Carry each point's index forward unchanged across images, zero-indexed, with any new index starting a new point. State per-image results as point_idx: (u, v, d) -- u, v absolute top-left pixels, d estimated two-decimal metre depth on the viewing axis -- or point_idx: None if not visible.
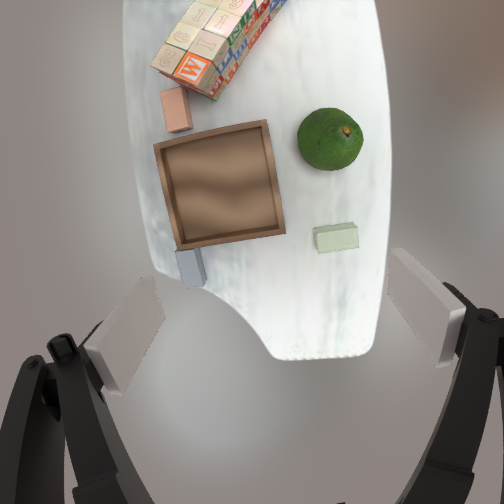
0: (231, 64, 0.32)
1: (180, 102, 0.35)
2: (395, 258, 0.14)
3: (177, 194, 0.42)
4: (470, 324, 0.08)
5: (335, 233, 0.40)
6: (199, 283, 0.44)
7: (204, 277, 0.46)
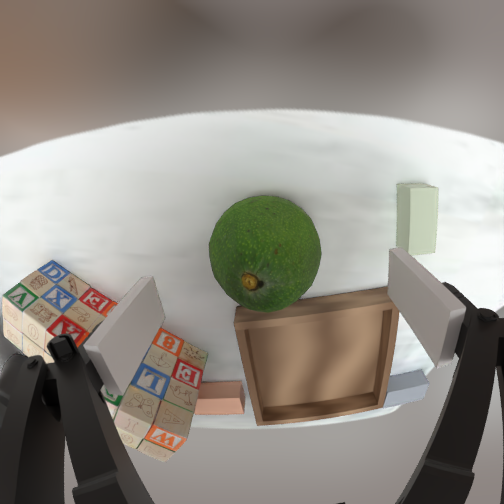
0: (155, 356, 0.26)
1: (209, 400, 0.30)
2: (395, 258, 0.14)
3: (319, 399, 0.32)
4: (470, 324, 0.08)
5: (414, 225, 0.23)
6: (424, 386, 0.29)
7: (420, 375, 0.31)
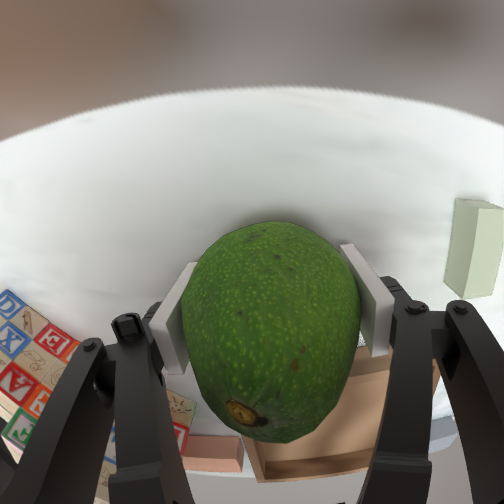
0: None
1: (199, 459, 0.22)
2: (343, 253, 0.15)
3: (332, 453, 0.24)
4: (399, 318, 0.09)
5: (476, 260, 0.14)
6: (453, 435, 0.21)
7: (448, 422, 0.22)
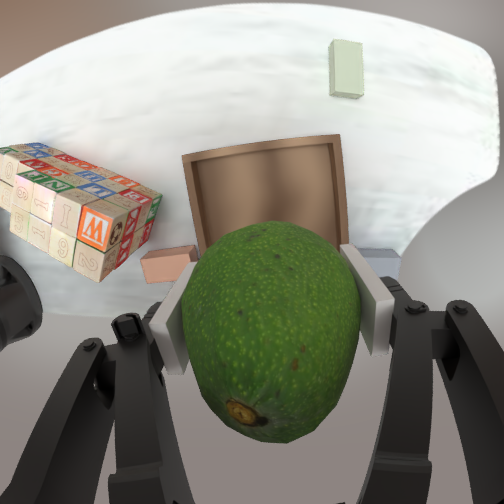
0: (108, 182, 0.27)
1: (159, 260, 0.32)
2: (343, 253, 0.15)
3: None
4: (398, 318, 0.09)
5: (339, 66, 0.24)
6: (396, 261, 0.30)
7: (390, 252, 0.32)
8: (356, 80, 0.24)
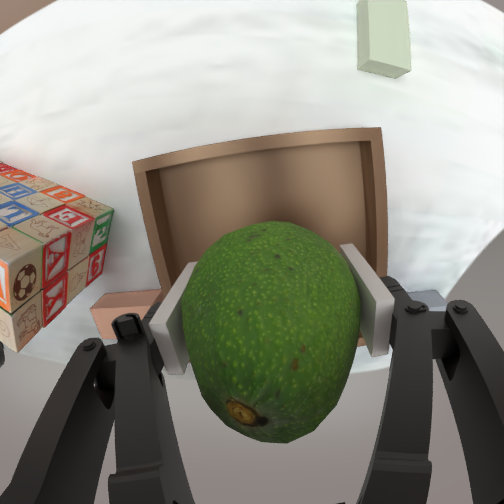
0: (34, 198, 0.17)
1: (113, 311, 0.21)
2: (343, 253, 0.15)
3: None
4: (398, 318, 0.09)
5: (375, 26, 0.13)
6: (443, 309, 0.20)
7: (434, 295, 0.21)
8: (400, 48, 0.14)
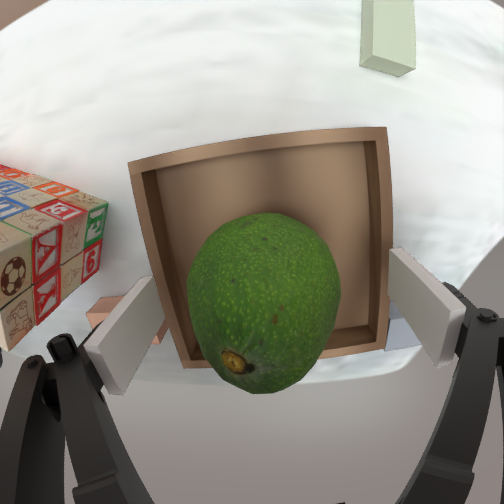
0: (26, 194, 0.16)
1: None
2: (395, 258, 0.14)
3: None
4: (470, 324, 0.08)
5: (380, 21, 0.12)
6: None
7: None
8: (405, 45, 0.13)
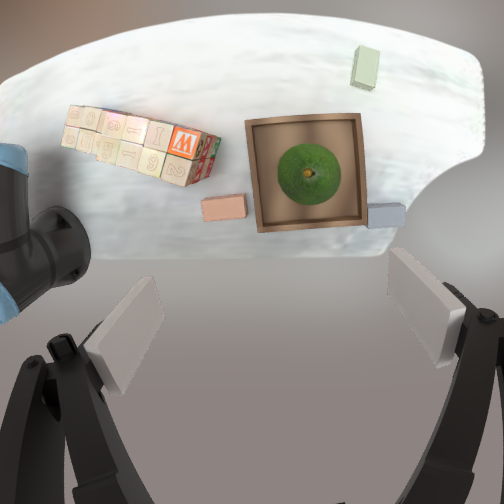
0: (180, 125, 0.36)
1: (217, 201, 0.41)
2: (395, 258, 0.14)
3: (311, 216, 0.42)
4: (470, 324, 0.08)
5: (360, 64, 0.32)
6: (402, 209, 0.38)
7: (397, 204, 0.40)
8: (371, 76, 0.32)
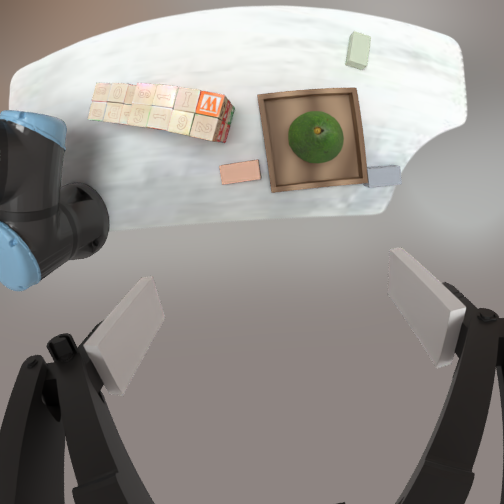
0: None
1: (234, 165, 0.44)
2: (395, 258, 0.14)
3: (318, 178, 0.46)
4: (470, 324, 0.08)
5: (354, 47, 0.36)
6: (397, 168, 0.43)
7: (392, 165, 0.44)
8: (363, 57, 0.37)
